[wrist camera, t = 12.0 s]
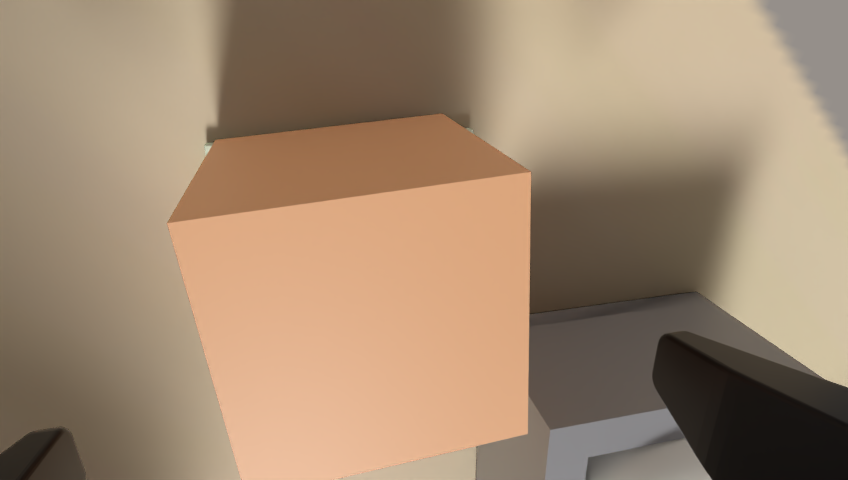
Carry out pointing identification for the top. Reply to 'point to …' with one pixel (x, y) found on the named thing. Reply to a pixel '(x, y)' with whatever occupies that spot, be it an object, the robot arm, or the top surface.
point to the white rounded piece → (648, 463)
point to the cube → (359, 293)
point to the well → (605, 383)
